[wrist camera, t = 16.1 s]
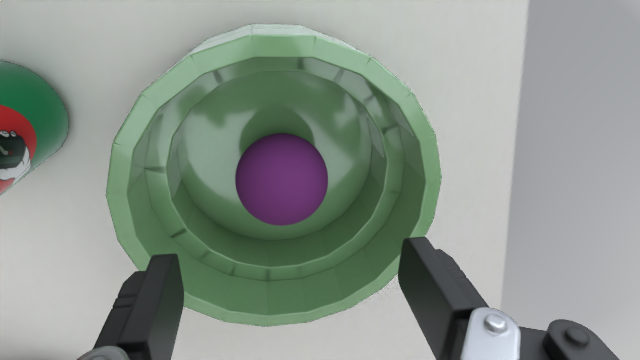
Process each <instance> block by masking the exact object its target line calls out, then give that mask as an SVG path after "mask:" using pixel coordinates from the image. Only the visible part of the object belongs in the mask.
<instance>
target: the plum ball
mask: <svg viewBox="0 0 640 360" xmlns="http://www.w3.org/2000/svg"><path fill="white" fill-rule="evenodd" d="M235 185H236V190H237V194H238V197H239V199H240V201H241V203H242V204H243V206H244V207H245V209H246V210H247V211H248V212H249V213H250V214H251V215H253V216H254V217H255V218H257V219H259V220H260V221H262V222H265V223H268V224H271V225H278V226H285V225H292V224H296V223H299V222H301V221H303V220H305V219H307V218H308V217H310V216H311V215H312V214H313V213H314V212H315V211H316V210H317V209H318V208H319V206H320V205H321V203H322V202H323V200H324V197H325V195H326V192H327V187H328V172H327V167H326V164H325V161H324V159H323V157H322V156H321V154H320V153H319V151H318V150H317V149H316V148H315V147H314V146H313V145H312V144H311V143H310V142H308V141H307V140H305V139H303V138H301V137H299V136H296V135H293V134H287V133H277V134H271V135H267V136H265V137H262V138H260V139H258V140H257V141H255V142H254V143H252V144H251V145H250V146H249V147H248V148H247V149H246V150H245V152H244V153H243V155H242V156H241V158H240V160H239V162H238V165H237V169H236V174H235Z"/></svg>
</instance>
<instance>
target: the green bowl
mask: <svg viewBox="0 0 640 360" xmlns="http://www.w3.org/2000/svg"><path fill="white" fill-rule="evenodd" d="M277 133H287V134H293V135H296V136H299V137H301V138H303V139H305V140H307V141H308V142H310V143H311V144H312V145H313V146H314V147H315V148H316V149H317V150H318V151H319V153H320V154H321V156H322V157H323V159H324V161H325V164H326V167H327V172H328V187H327V192H326V195H325V197H324V200H323V202H322V203H321V205H320V206H319V208H318V209H317V210H316V211H315V212H314V213H313V214H312V215H311V216H310V217H308V218H307V219H305V220H303V221H301V222H299V223H296V224H292V225H285V226H278V225H271V224H268V223H265V222H262V221H260V220H259V219H257V218H255V217H254V216H253V215H251V214H250V213H249V212H248V211H247V210H246V209H245V207H244V206H243V204H242V203H241V201H240V199H239V197H238V194H237V190H236V185H235V174H236V169H237V165H238V162H239V160H240V158H241V156H242V155H243V153H244V152H245V150H246V149H247V148H248V147H249V146H250V145H251V144H252V143H254V142H255V141H257V140H258V139H260V138H262V137H265V136H267V135H271V134H277ZM441 178H442V176H441V169H440V162H439V155H438V148H437V141H436V135H435V132H434V130H433V128H432V127H431V125H430V123H429V121H428V119H427V117H426V116H425V114H424V112H423V110H422V108H421V107H420V105H419V103H418V101H417V99H416V97H415V96H414V94H413V92H411V90H410V89H409V88H408V87H407V86H406V85H404V84H403V83H402V82H401V81H400V80H399V79H397V78H396V77H395V76H394V75H393V74H392V73H390V72H389V71H388V70H387V69H386V68H385V67H383V66H382V65H381V64H380V63H379V62H378V61H376V60H375V59H374V58H373V57H371V56H369V55H368V54H366V53H364V52H362V51H360V50H358V49H356V48H354V47H353V46H351V45H349V44H347V43H345V42H343V41H341V40H339V39H336V38H333V37H331V36H328V35H325V34H323V33H320V32H317V31H315V30H312V29H309V28H307V27H304V26H301V25H300V26H299V25H285V24H250V25H247V26H244V27H241V28H238V29H235V30H232V31H229V32H226V33H223V34H220V35H217V36H214V37H211V38H208V39H207V40H205V41H203V42H202V43H201V44H199V45H198V46H197V47H196V48H194V49H193V50H192V51H191V52H189V53H188V54H187V55H186V56H184V57H183V58H182V59H181V60H179V61H178V62H177V63H176V64H174V65H173V66H172V67H171V68H169V69H168V70H167V71H166V72H165V73H164V74H162V75H161V76H160V77H159V78H158V79H157V80H155V81H154V82H153V83H152V84H151V85H150V86H148V87H147V88H146V89H145V90H144V91H143V92H142V93H141V94H140V95H139V97H138V99H137V101H136V102H135V104H134V106H133V107H132V109H131V111H130V113H129V114H128V116H127V118H126V119H125V121H124V123H123V125H122V126H121V128H120V130H119V132H118V133H117V135H116V137H115V138H114V142H113V143H112V150H111V157H110V165H109V172H108V180H107V187H106V198H107V202H108V205H109V209H110V213H111V217H112V220H113V224H114V228H115V232H116V236H117V239H118V242H119V243H120V244H121V246H122V247H123V249H124V250H125V251H126V253H127V254H128V256H129V257H130V259H131V260H132V261H133V263H134V264H135V266H136V267H137V268H138V270H139V271H146V269H147V266H148V264H149V261H150V259H151V257H152V255H157V254H172V253H176V254H177V255H178V259H179V264H180V270H181V275H182V281H183V287H184V305H183V306H184V307H187V308H190V309H192V310H195V311H197V312H200V313H203V314H205V315H208V316H210V317H213V318H216V319H218V320H221V321H222V320H223V321H224V322H231V323H239V324H247V325H255V326H263V327H265V326H267V327H268V326H278V325H287V324H297V323H306V322H308V321H309V322H311V321H314V320H317V319H320V318H323V317H325V316H328V315H331V314H334V313H337V312H340V311H343V310H346V309H348V308H351V307H353V306H354V305H356V304H358V303H359V302H361V301H362V300H364V299H366V298H367V297H369V296H371V295H372V294H374V293H375V292H377V291H379V290H380V289H382V288H383V287H384V286H386V285H387V284H388V283H389V282H390V281H391V280H392V279H393V278H394V276H395V275H396V274H397V273H398V268H399V262H400V255H401V249H402V243H403V240H404V239H405V238H412V237H424V236H425V235H426V233H427V231H428V229H429V227H430V226H431V224H432V222H433V219H434V214H435V209H436V204H437V199H438V194H439V189H440V184H441Z"/></svg>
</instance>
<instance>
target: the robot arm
mask: <svg viewBox="0 0 640 360" xmlns="http://www.w3.org/2000/svg"><path fill="white" fill-rule="evenodd" d="M398 280H399V284H400V287H401V289H402V291H403V293H404V296H405V298H406V300H407V302H408V304H409V306H410V308H411V310H412V312H413V314H414V316H415V318H416V320H417V322H418V324H419V326H420V328H421V330H422V332H423V334H424V336H425V338H426V340H427V342H428V344H429V346H430V348H431V350H432V352H433V354H434V356H435V358H436V360H619V359H618V358H617V356H616V355H615V354H613V352H612V351H611V350H610V349H609V348H608V347H607V346H606V345H605V344H604V343H603V341H602V340H601V339H600V338H599V337H598V336H597V335H596V334H595V333H593V332H592V331H591V330H589V329H588V328H586V327H585V326H583V325H581V324H578V323H576V322H573V321H569V320H562V319H561V320H560V319H559V320H555V321H553V322H551V323H550V324H549V327H548V329H547V331H543V330H537V329H531V328H525V327H520V326H518V325H517V323H516V322H515V321H514V320H513V319H512V318H511V317H510V316H508V315H507V314H505V313H504V312H502V311H499V310H497V309H494V308H490V307H489V306H488V305H487V303H486V302H485V301H484V299H483V298H482V297H481V295H480V294H479V293H478V291H477V290H476V289H475V287H474V286H473V285H472V283H471V282H470V281H469V279H468V278H466V275H465V274H464V273H463V271H462V270H460V267H459V266H458V265H457V263H456V262H455V261H454V259H453V258H452V257H450V256H449V255H448V254H446V253H445V252H443V251H442V250H441V249H437V250H435V249H434V248H433V246H432V245H431V243H430V242H429V240H428V239H427V238H426V237H412V238H405V239H404V240H403V243H402V249H401V255H400V262H399V268H398ZM183 305H184V287H183V281H182V275H181V270H180V264H179V259H178V255H177V254H176V253H172V254H157V255H152V257H151V259H150V261H149V264H148V266H147V269H146V271H135V272H134V273H133V274H132V275H131V276H130V277H129V278H128V279H127V280H126V281H125V282H124V283H123V285H122V287H121V289H120V292H119V294H118V298H116V300H115V302H114V305H113V309H111V311H110V313H109V315H108V317H107V320H106V322H105V324H104V326H103V328H102V330H101V333H100V335H99V337H98V339H97V341H96V343H95V346H94V348H93V350H91V351H89V352H87V353H85V354H84V355H82V356H81V357H80V358H78V359H77V360H171V356H172V352H173V348H174V344H175V339H176V335H177V331H178V327H179V322H180V318H181V314H182V310H183Z"/></svg>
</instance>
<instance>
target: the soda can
mask: <svg viewBox="0 0 640 360" xmlns="http://www.w3.org/2000/svg"><path fill="white" fill-rule="evenodd" d="M68 127H69V125H68V116H67V112H66V109H65V107H64V104H63V102H62V101H61V99H60V97H59V96H58V95H57V93H56V92H55V91H54V89H53V88H52V87H51V86H50V85H49V84H48V83H47V82H46V81H44V80H43V79H42V78H40V77H39V76H38V75H36V74H35V73H33V72H31V71H30V70H28V69H26V68H23V67H21V66H19V65H16V64H13V63H9V62H4V61H0V196H1V195H2V194H3V193H4V192H6V191H7V190H8V189H10V188H11V187H12V186H13V185H15V184H16V183H17V182H18V181H20V180H21V179H22V178H23V177H25V176H26V175H27V174H28V173H30V172H31V171H32V170H34V169H35V168H36V167H37V166H39V165H40V164H41V163H42V162H44V161H45V160H46V159H47V158H49V157H50V156H51V155H53V154H54V153H55V152H56V151H57V150H58V149H59V148H60V147H61V146H62V145H63V143H64V141H65V140H66V137H67V134H68Z"/></svg>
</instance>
